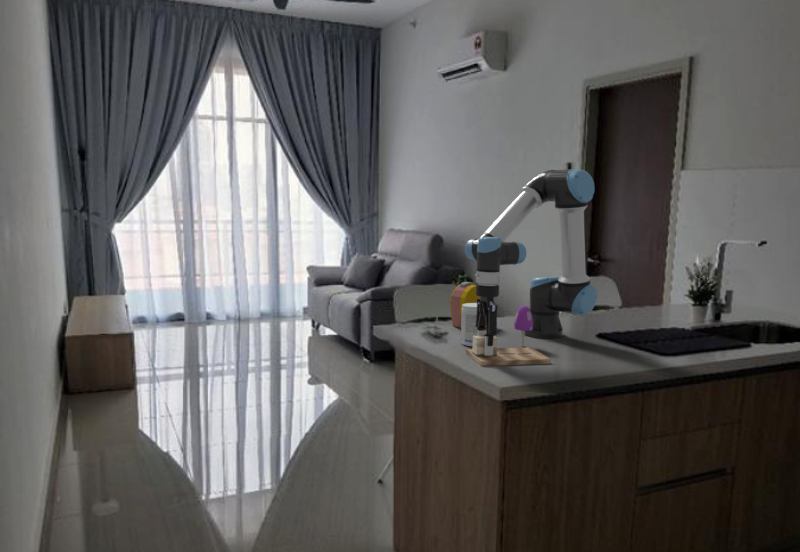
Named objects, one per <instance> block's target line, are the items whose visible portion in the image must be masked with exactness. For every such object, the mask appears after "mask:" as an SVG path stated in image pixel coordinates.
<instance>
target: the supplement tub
mask: <svg viewBox="0 0 800 552" xmlns="http://www.w3.org/2000/svg"><path fill="white" fill-rule="evenodd" d="M476 313H477V303H466V304H463V305H462V320H461V328H460V329H461V331H460V335H461V336H460V343H461V344H462V345H463V346H466V347H472V346H473V336H478V330H477V327H476V326H475V325H476ZM485 327H486V326H485ZM485 331H486V330H485Z"/></svg>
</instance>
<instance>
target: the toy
mask: <svg viewBox="0 0 800 552" xmlns="http://www.w3.org/2000/svg"><path fill="white" fill-rule="evenodd" d="M514 316H515V317H514V323H513V326H514V328H513V329H514V330H517V331H521V341H520V342H521V343H520V347H521V348H525V334H524V332H525V331H530V330H532V329H533V317H532V313H531V311H530V309H529V307H528V306H527V305H522V306H520V307H519V308H518V310H517V312H516V313H515V315H514Z"/></svg>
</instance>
